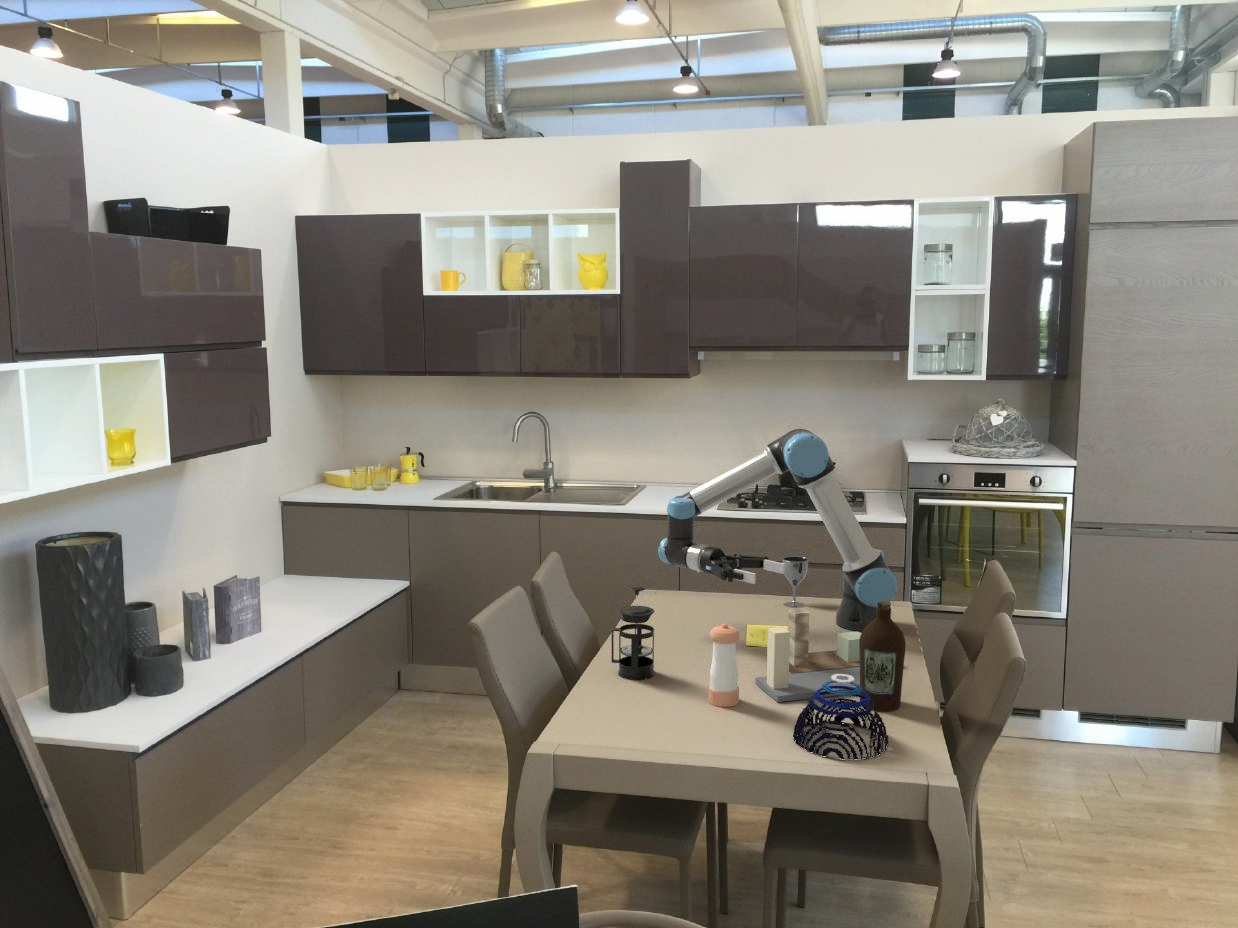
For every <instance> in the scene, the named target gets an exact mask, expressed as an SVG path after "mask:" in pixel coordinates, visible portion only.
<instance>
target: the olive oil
mask: <svg viewBox="0 0 1238 928" xmlns="http://www.w3.org/2000/svg"><path fill="white" fill-rule="evenodd" d="M891 607H892V603H891V601H890V602H888V601H878V602H877V608H876V618H875V619H874V620H873V621H872V622H871V623H869V624H868V625H867V626H866V627H865V628H864V629H863V631H861V632H860V633H861V635H860V639H859V657H860V687H861V688H862V690H861V691H864V692H865V693H866V694H867V695H868V696H869V697H870V699H871V701H873V704H874V708H873V711H876V712H894V711H896V710H898V709H899V708H900V707H901V702H902V700H901V699H902V688H903V677H904V668H905V667H904V666H905V656H906V655H905V654H906V647H907V645H906V639H905V635H904V633H903V630H901V628H900V627H899V626H898V625H897V624H896V623H895V621H894V620H893V619H892V617H891V616H892V608H891ZM859 694H860V695H863V694H862V693H859ZM861 700H862V698H860V697H859V701H861ZM863 700H864V699H863ZM865 706H866V708H867V709H868V708H869V709H870V706H871V703H870V702H869V704H867V705H865Z"/></svg>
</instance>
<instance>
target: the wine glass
mask: <svg viewBox="0 0 1238 928" xmlns="http://www.w3.org/2000/svg"><path fill="white" fill-rule="evenodd" d="M782 563H784V564H785V574H783V575H784V576H785V578H786V579H787V580H788V582H789V584H790V585H791V587H792V594H793V595H792V596H793V597H792V600H791V601H789V600H788V601H784V602H783V603H782V605H783V606H785V607H789V608H794V609H799V608H803V607H806V603H804V602H801V601H797V597H796V596H797V588H798V586H799V584H800V583H801V582H802V581H803V580H804V579H805V577H806V576H807V572H808V567H809V566H808V565H809V558H807V557H805V556H799V555H787V556H783V557H782Z"/></svg>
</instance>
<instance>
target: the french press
mask: <svg viewBox="0 0 1238 928" xmlns="http://www.w3.org/2000/svg"><path fill="white" fill-rule="evenodd" d="M628 590H629V591H631V592H634V595H635V605H627V606H624V607H621V608H620V609H619V610H618V612H619V614H620V620H621V621H622V622H625V623H628V624H625V625H621V626H619V627H613V628H612V629H611V663H612V664H619V665H618V672H617V673H618V676H619V677H620V678H622V679H626V680H629V681H630V680H631V681H641V680H648V679H652V678H653V677H654V676H655V668H654V667H655V665H654V664H655V663H654V661H655V628H654V627H653V626H651V625H648V624H644V623H646V622H648V621H650V618H651V616H652V615H653V614H655V609H653V608H652V607H650V606H646V605H638V596H639V593H640V592H642V591H645V590H646V587H643V586H639V585H633V586H630V587H629V588H628ZM627 630H634V633H627V632H624V631H627ZM642 630H646V631H649V632H646V633H642ZM615 632H618V636H619V637H618V646H619V647H618V648H619V649H618V659H614V654H615V653H614V650H615V648H614V647H615V646H614V645H615V643H614V642H615V641H614V639H615V637H614V634H615ZM621 638H624V639H629V640H630V641H631V642H630V643H631V644H629V645H625V646H622V644H621V643H622V640H621ZM650 638H652V647H651V646H648V645H644V644H643V643H642V642H643V641H642V640H644V639H645V640H646V639H650ZM621 646H622V647H621ZM621 655H623V656H624V657H621ZM650 655H652V658H651V657H649V656H650Z"/></svg>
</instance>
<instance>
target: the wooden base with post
mask: <svg viewBox="0 0 1238 928" xmlns="http://www.w3.org/2000/svg"><path fill="white" fill-rule="evenodd" d="M787 616H788V618H787V619H788V620H787V630H788V631H789V632H790V652H789V673H790V674H795V673H805V672H814V671H824V670H834V669H843V668H853V667H860V661H855V662H847V661H845V660H844V659H842V658H841V657H839V656H838V655H837V649H836V650H835V649H834V650H826V651H816V652H809V643H810V642H809V640H810V612H809V611H808V610H806V609H804V608H803V607H801V608H793V609H788V615H787Z"/></svg>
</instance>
